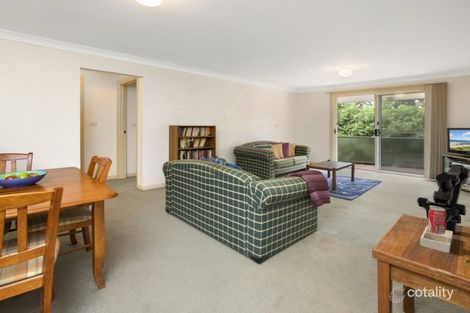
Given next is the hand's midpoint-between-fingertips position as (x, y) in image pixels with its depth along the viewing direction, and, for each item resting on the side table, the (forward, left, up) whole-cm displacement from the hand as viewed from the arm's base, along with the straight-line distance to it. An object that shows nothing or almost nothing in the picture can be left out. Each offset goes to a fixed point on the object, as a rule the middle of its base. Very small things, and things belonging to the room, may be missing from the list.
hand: (436, 220), depth 124 cm
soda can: (-1, -1, -7) cm, 7 cm away
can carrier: (-6, -3, -13) cm, 15 cm away
